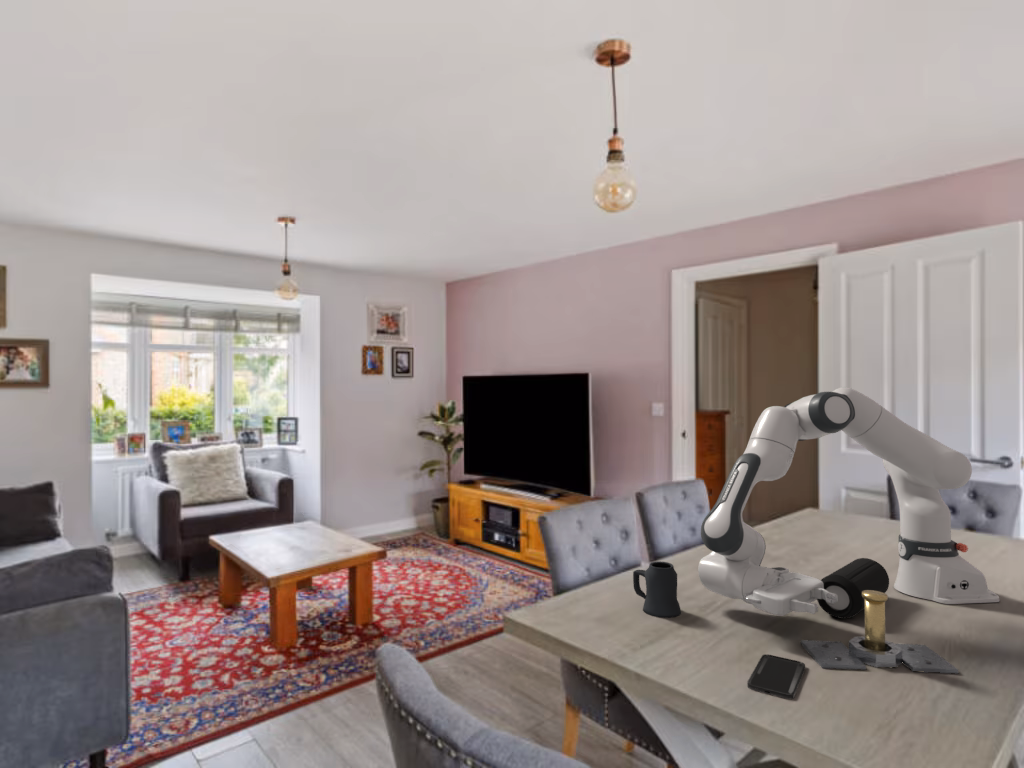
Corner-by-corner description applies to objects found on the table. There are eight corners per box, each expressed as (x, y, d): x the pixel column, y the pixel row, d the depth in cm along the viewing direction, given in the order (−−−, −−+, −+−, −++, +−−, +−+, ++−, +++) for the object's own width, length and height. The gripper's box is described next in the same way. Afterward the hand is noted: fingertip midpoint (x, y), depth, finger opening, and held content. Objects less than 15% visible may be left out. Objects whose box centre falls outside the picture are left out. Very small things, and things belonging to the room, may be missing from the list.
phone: (806, 662, 116) (792, 695, 104) (806, 668, 116) (792, 702, 104) (762, 653, 121) (745, 683, 108) (762, 658, 121) (745, 689, 108)
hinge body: (924, 648, 124) (924, 636, 124) (958, 673, 113) (958, 660, 113) (800, 643, 127) (800, 632, 127) (821, 667, 116) (821, 655, 116)
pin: (881, 653, 122) (880, 590, 122) (892, 663, 118) (891, 598, 118) (858, 652, 122) (857, 589, 122) (868, 662, 118) (868, 597, 118)
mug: (687, 610, 147) (687, 564, 147) (669, 621, 140) (669, 572, 140) (644, 598, 155) (643, 555, 155) (625, 608, 148) (624, 562, 148)
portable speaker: (850, 590, 160) (850, 552, 161) (892, 599, 153) (892, 560, 153) (812, 615, 143) (812, 573, 143) (858, 626, 136) (857, 582, 136)
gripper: (739, 583, 131) (803, 600, 121) (785, 565, 144) (846, 579, 133) (739, 611, 131) (803, 631, 121) (785, 591, 144) (847, 608, 133)
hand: (826, 604), depth 127 cm, fingers open, 8 cm apart
